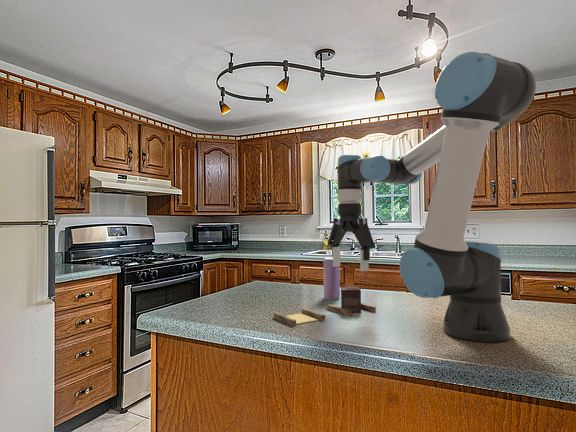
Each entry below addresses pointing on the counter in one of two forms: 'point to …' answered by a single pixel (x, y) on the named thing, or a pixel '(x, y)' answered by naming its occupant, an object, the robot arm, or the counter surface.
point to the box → (351, 298)
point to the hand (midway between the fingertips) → (349, 268)
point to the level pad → (302, 318)
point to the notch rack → (321, 316)
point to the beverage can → (331, 279)
